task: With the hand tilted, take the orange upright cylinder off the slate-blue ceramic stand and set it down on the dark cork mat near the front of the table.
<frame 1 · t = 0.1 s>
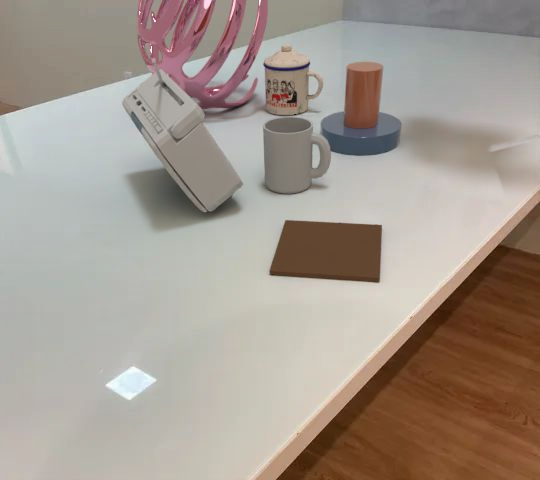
mat: (328, 250, 71), on the table
orange upright cylinder: (360, 122, 97), point 3 cm above the table, touching stand
teacup with lid: (293, 110, 113), on the table
cup: (297, 186, 86), on the table
stand: (359, 140, 99), on the table
radio: (208, 177, 85), point 2 cm above the table
spiral basket: (206, 104, 118), on the table
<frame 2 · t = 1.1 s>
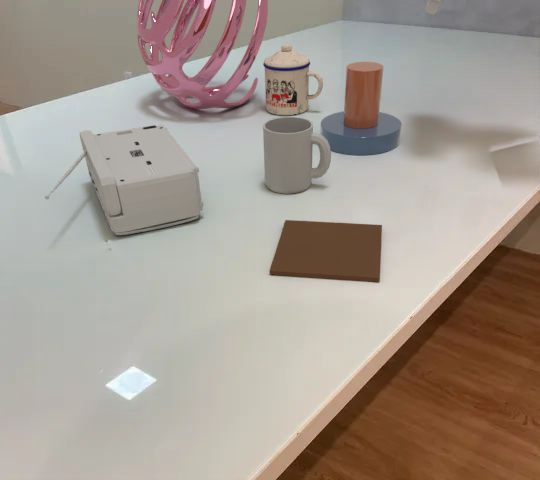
hand: (429, 3, 87), 20 cm above the table, tool tilted 15°, fingers open, 8 cm apart
radio: (185, 165, 82), point 4 cm above the table
everything else where it was.
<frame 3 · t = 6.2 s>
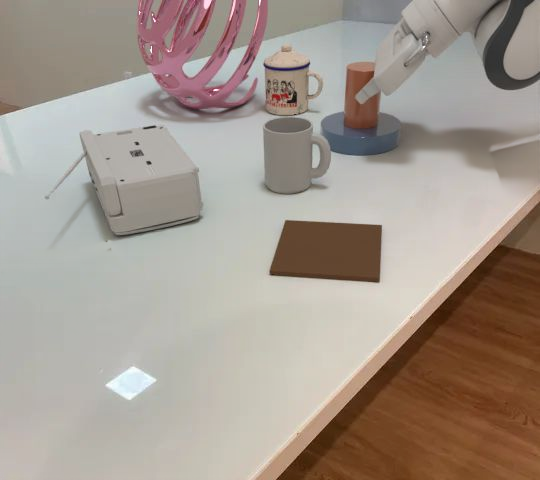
hand: (359, 93, 94), 8 cm above the table, tool tilted 45°, fingers closed on orange upright cylinder, 6 cm apart
orange upright cylinder: (360, 122, 97), point 3 cm above the table, touching gripper, stand
everything else where it was.
when the fingers open (5 cm above the table, at t = 18.8 s): orange upright cylinder stays where it is, resting on mat.
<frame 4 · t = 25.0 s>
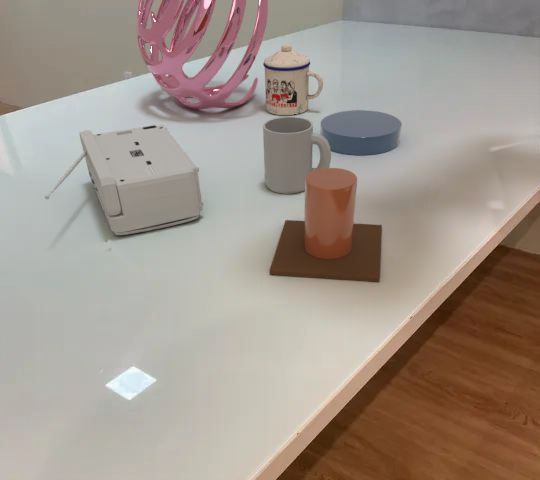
orange upright cylinder: (328, 247, 70), point 1 cm above the table, touching mat
everything else where it was.
at the end: orange upright cylinder inside the target area on the mat (0.2 cm from its centre), point 0.6 cm above the mat's base; orange upright cylinder tilted 0°; orange upright cylinder touching mat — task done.
